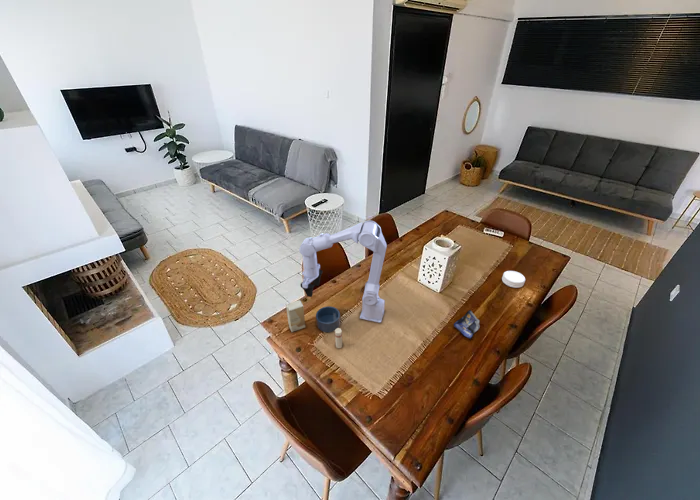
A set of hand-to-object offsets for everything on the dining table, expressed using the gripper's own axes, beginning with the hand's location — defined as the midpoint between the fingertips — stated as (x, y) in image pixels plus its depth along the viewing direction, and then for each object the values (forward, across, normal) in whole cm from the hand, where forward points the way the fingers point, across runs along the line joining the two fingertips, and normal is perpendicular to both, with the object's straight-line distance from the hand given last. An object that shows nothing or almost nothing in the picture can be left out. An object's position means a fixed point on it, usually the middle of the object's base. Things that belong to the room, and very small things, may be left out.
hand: (313, 290), depth 132 cm
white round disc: (+10, -44, +88) cm, 99 cm away
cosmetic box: (+10, +13, -3) cm, 16 cm away
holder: (+10, +7, +9) cm, 15 cm away
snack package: (+10, -6, +66) cm, 67 cm away
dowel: (+10, +17, +17) cm, 26 cm away
